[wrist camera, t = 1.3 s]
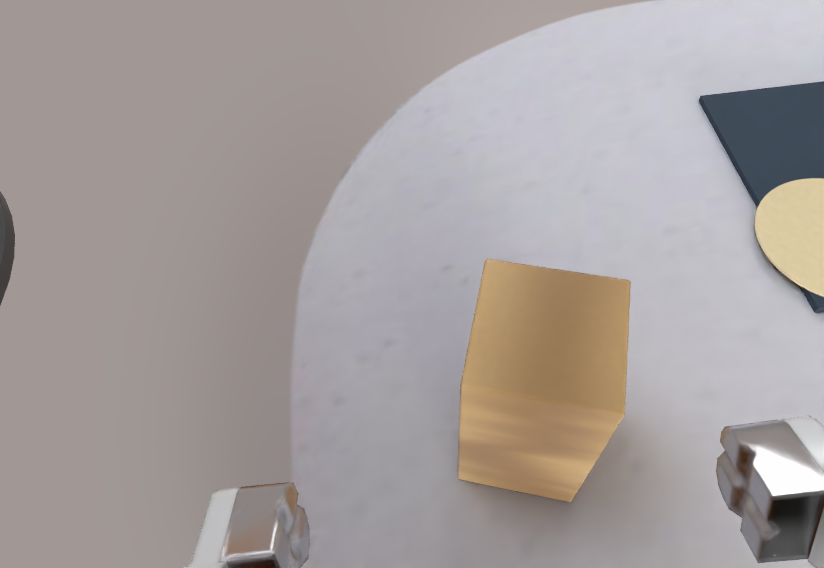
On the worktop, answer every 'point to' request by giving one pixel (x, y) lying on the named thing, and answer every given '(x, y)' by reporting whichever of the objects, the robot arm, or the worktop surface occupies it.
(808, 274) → the pattern mat
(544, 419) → the brass rectangular block
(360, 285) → the worktop surface
